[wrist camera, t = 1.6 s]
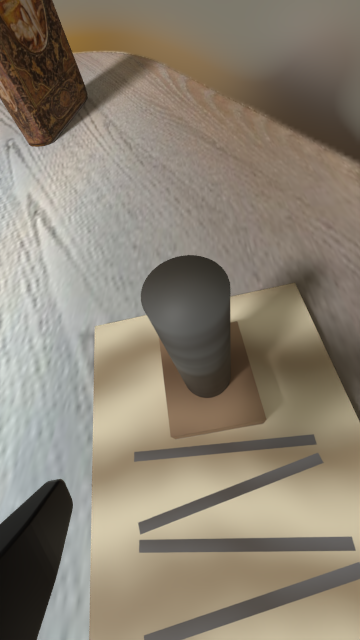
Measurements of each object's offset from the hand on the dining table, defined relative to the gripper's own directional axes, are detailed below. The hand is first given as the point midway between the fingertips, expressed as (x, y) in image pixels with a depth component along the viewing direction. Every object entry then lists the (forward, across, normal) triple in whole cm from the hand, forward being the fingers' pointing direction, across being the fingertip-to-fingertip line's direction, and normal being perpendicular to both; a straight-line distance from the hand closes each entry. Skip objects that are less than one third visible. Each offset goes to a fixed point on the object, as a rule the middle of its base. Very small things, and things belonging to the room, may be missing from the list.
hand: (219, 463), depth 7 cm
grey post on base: (+12, 0, +4) cm, 12 cm away
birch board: (+9, 0, +8) cm, 12 cm away
